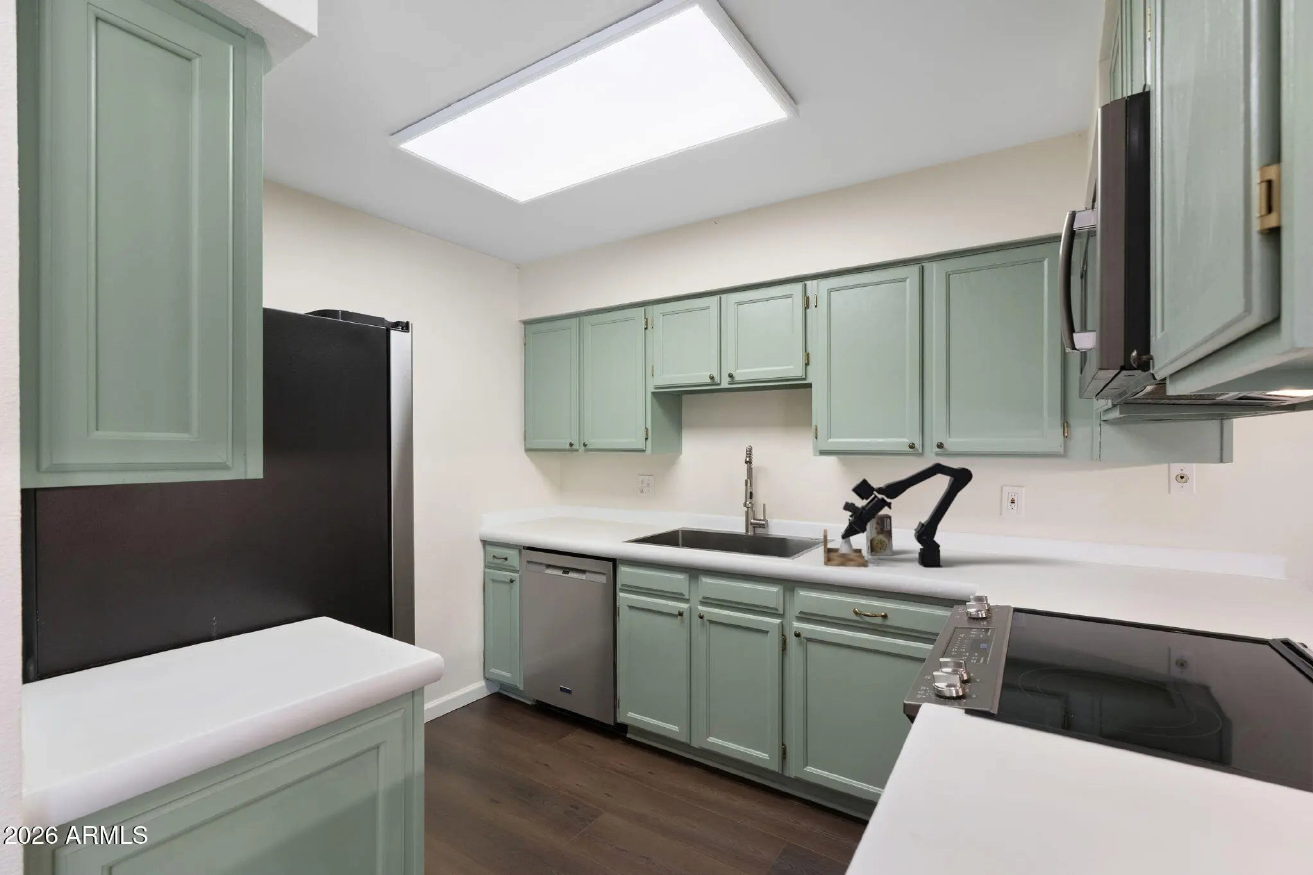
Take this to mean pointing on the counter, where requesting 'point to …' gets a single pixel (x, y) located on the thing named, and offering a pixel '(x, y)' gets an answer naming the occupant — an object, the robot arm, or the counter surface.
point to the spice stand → (842, 556)
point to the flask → (846, 546)
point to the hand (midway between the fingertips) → (841, 537)
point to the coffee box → (879, 536)
